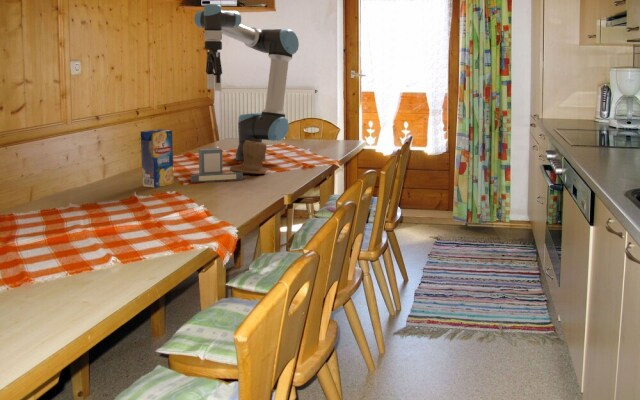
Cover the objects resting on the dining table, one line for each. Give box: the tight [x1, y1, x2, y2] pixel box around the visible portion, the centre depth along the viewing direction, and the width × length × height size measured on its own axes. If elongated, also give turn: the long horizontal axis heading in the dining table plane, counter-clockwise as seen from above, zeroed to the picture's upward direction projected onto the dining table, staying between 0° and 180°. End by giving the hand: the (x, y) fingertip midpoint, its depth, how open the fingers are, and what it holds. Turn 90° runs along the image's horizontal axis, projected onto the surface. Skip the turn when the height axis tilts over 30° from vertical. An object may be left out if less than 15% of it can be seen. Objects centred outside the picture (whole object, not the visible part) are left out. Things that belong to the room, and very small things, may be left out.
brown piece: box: [229, 140, 267, 175], centre depth 345 cm, size 15×12×15 cm
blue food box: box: [140, 129, 175, 188], centre depth 314 cm, size 7×11×22 cm, turn 148°
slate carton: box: [198, 147, 223, 175], centre depth 336 cm, size 9×5×12 cm, turn 112°
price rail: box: [190, 172, 244, 184], centre depth 326 cm, size 2×22×3 cm, turn 111°
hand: (214, 89), depth 343 cm, fingers open, 13 cm apart
